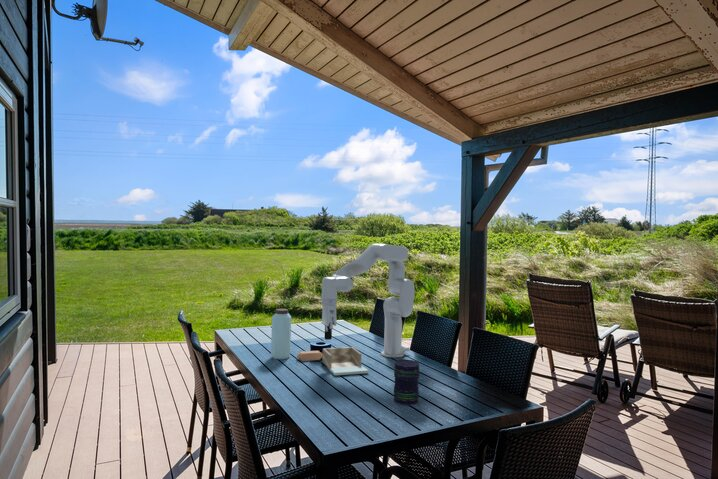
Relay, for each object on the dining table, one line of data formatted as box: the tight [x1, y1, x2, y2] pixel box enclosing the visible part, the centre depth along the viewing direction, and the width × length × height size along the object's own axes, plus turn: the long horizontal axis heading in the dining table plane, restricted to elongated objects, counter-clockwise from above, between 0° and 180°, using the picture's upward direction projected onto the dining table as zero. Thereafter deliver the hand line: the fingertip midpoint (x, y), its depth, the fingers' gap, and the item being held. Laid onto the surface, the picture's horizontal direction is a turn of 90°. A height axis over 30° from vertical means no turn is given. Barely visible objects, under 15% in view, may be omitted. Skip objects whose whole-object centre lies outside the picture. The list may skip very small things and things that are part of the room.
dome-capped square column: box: [296, 350, 323, 362], centre depth 232 cm, size 13×4×4 cm, turn 108°
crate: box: [321, 346, 362, 371], centre depth 223 cm, size 16×14×7 cm
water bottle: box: [270, 308, 292, 360], centre depth 234 cm, size 10×10×25 cm
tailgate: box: [329, 365, 369, 376], centre depth 211 cm, size 16×1×9 cm
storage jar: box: [393, 355, 420, 406], centre depth 176 cm, size 10×10×18 cm
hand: (328, 339), depth 221 cm, fingers closed
